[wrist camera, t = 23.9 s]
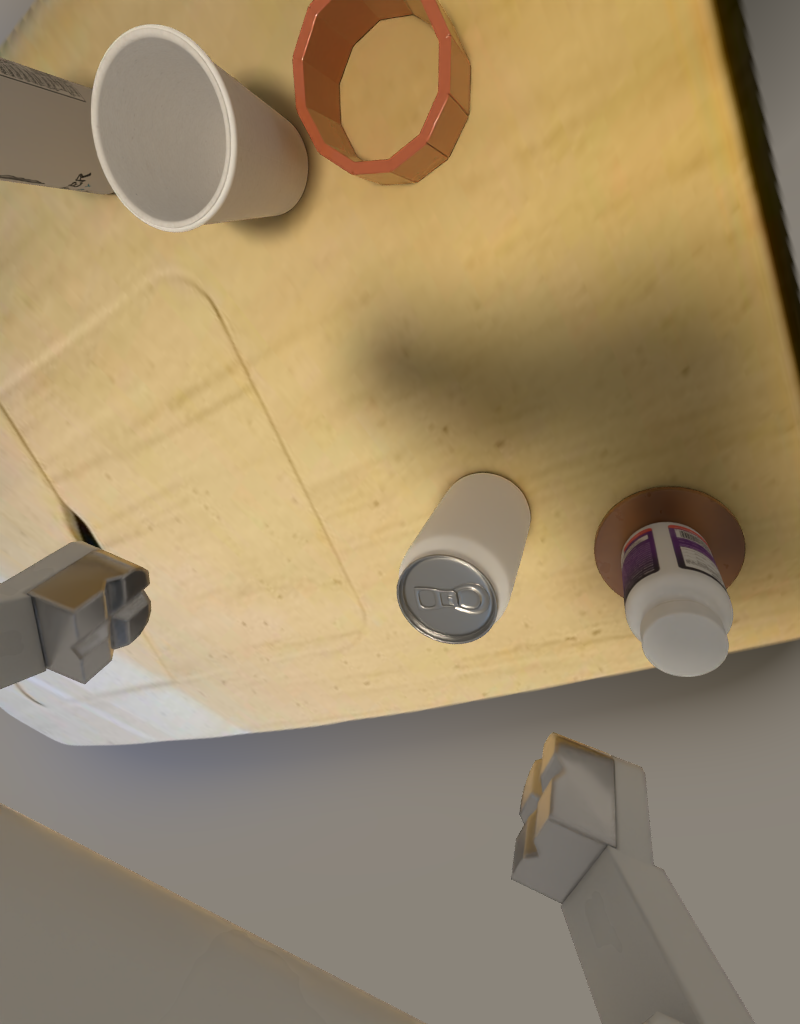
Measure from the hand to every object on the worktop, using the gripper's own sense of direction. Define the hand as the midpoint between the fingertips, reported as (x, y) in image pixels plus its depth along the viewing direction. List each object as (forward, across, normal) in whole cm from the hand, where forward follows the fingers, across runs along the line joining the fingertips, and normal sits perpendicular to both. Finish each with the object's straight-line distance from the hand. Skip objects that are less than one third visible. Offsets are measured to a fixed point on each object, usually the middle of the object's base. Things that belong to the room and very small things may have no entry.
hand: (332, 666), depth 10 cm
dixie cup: (+30, +19, -7) cm, 36 cm away
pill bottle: (+28, -13, +10) cm, 32 cm away
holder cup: (+30, +11, -12) cm, 34 cm away
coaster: (+28, -13, +9) cm, 32 cm away
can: (+28, -1, +11) cm, 31 cm away
